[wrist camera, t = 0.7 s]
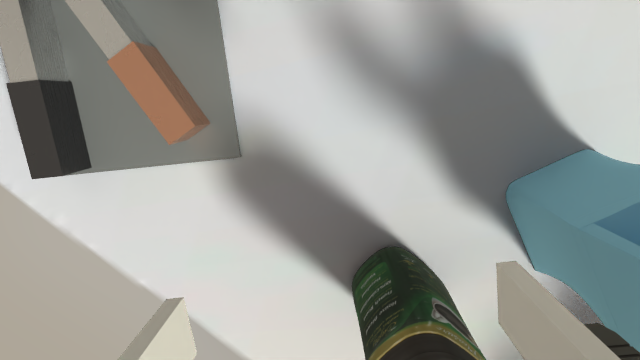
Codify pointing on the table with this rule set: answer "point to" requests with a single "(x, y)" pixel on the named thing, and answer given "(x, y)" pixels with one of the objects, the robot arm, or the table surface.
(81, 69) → the mat
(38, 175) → the tongs fixed
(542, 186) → the vase
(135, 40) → the tongs arm
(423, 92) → the table surface
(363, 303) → the coffee jar
